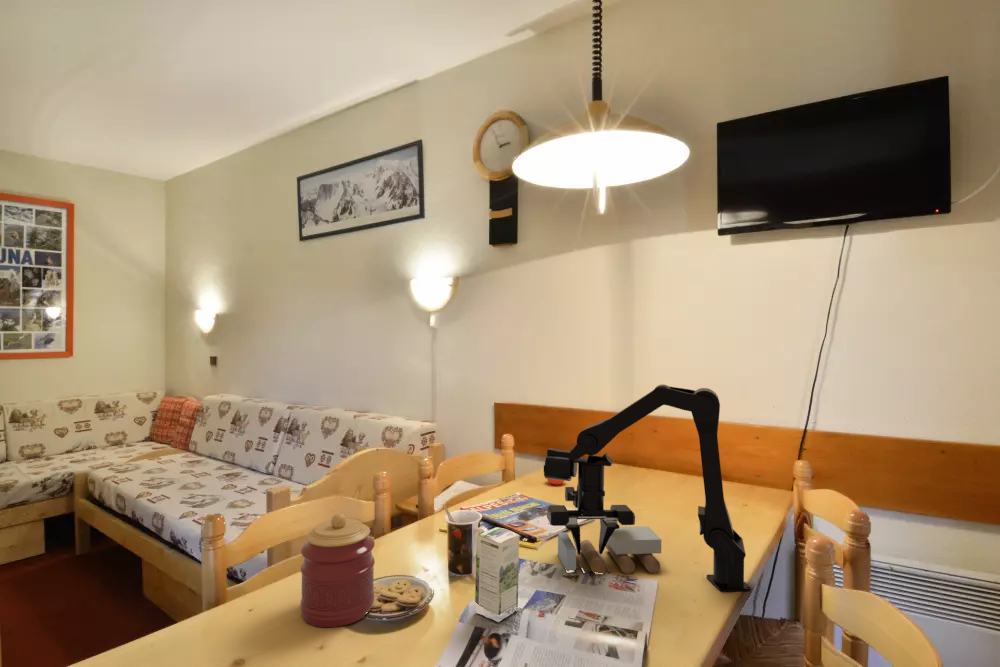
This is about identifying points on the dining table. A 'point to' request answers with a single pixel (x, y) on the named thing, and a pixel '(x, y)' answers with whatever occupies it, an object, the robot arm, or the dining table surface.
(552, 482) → the clementine
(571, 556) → the bar
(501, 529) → the syrup box
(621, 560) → the roller track
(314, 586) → the canister
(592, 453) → the robot arm
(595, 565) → the roller
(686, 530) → the dining table surface
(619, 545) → the slab
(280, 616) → the dining table surface
